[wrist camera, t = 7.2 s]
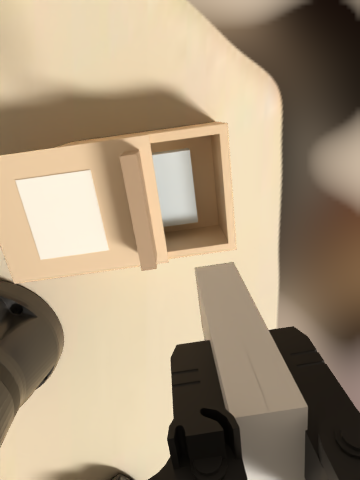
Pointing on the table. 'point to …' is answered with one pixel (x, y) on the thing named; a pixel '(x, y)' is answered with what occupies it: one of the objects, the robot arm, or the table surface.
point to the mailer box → (192, 187)
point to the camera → (120, 477)
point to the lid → (80, 210)
